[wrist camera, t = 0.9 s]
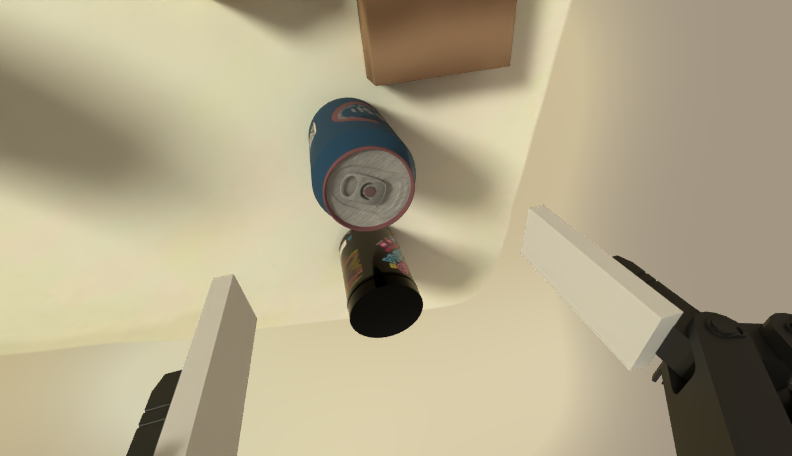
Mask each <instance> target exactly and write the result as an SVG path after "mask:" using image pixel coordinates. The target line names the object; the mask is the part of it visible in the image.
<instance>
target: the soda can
mask: <svg viewBox="0 0 792 456" xmlns="http://www.w3.org/2000/svg"><path fill="white" fill-rule="evenodd" d="M309 150H310V164H311V178H312V188H313V192H314V195H315V197H316V199H317V201H318V203H319V204H320V206H321V207H322V208H323V209H324V211H326V212H327V213H328V214H329V215H330V216H332V217H333V218H334V219H335V220H336V221H337V222H338V223H339V224H341V225H343V226H345V227H347V228H349V229H352V230H356V231H375V230H379V229H382V228H385V227H387V226H389V225H391V224H393V223H394V222H396V221H397V220H398V219H399V218H400V217H402V216H403V214H404V213H405V212H406V211H407V209H408V208H409V206H410V204H411V202H412V199H413V196H414V191H415V179H416V169H415V163H414V160H413V157H412V155H411V153H410V151H409V150H408V148H407V147H406V146H405V144H404V143H403V142H402V141H401V139H400V138H399V137H398V136H397V134H396V133H395V132H394V131H393V130H392V128H391V127H390V126H389V125H388V123H387V122H386V121H385V120H384V118H383V117H382V116H381V115H380V114H379V112H378V111H377V110H376V109H375V108H374V107H373V106H371V105H370V104H368V103H367V102H365V101H362V100H359V99H355V98H340V99H336V100H333V101H331V102H329V103H327V104H326V105H324V106H323V107H322V108H321V109H320V110H319V111H318V112H317V113H316V115H315V116H314V118H313V120H312V122H311V125H310V129H309Z"/></svg>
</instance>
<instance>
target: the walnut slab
mask: <svg viewBox="0 0 792 456" xmlns="http://www.w3.org/2000/svg"><path fill="white" fill-rule="evenodd" d="M516 2H517V0H357V7H358V14H359V22H360V29H361V37H362V45H363V52H364V60H365V67H366V75H367V78H368V79H369V80H370V81H371V82H372V83H373V84H374V85H375V86H379V85H386V84H392V83H399V82H406V81H412V80H419V79H426V78H433V77H439V76H446V75H453V74H459V73H466V72H473V71H480V70H486V69H493V68H500V67H507V66H510V58H511V49H512V39H513V30H514V21H515V11H516Z"/></svg>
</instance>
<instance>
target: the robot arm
mask: <svg viewBox="0 0 792 456" xmlns="http://www.w3.org/2000/svg"><path fill="white" fill-rule="evenodd" d="M521 254H522V255H523V257H524V258H525V259H526V260H527V261H528V262H529V263H530V264H531V265H532V266H533V267H534V268H535V269H536V271H538V273H539V274H540V275H541V276H542V277H543V278H544V279H545V280H546V281H547V282H548V283H549V284H550V285H551V287H552V288H553V289H554V290H555V291H556V292H557V293H558V294H559V295H560V296H561V297H562V298H563V300H564V301H565V302H566V303H567V304H568V305H569V306H570V307H571V308H572V309H573V310H574V311H575V312H576V313H577V314H578V316H579V317H580V318H582V320H583V321H584V322H585V323H586V324H587V325H588V326H589V327H590V329H591V330H592V331H593V332H594V333H595V334H596V335H597V336H598V337H599V338H600V339H601V340H602V341H603V342H604V344H605V345H606V346H607V347H608V348H609V349H610V350H611V351H612V352H613V353H614V354H615V355H616V356H617V358H618V359H619V360H620V361H621V362H622V363H623V364H624V365H625V366H626V367H627V368H628V369H629V370H633V369H636V368H639V367H643V366H646V365H648V364H649V363H650V362H651V360H652V359H653V357H654V355H655V354H656V355H657V356H658V357H660V358H661V359H662V360H663V361H662V363H661V364H660V366H659V367H658V369H657V370H656V371H655V373H654V374H653V377H652V381H654V382H656V381H657V380H658V379H659V377H660V376H661V374H662V379H663V382H662V384H663V385H664V389H665V394H666V400H667V405H668V410H669V416H670V421H671V427H672V431H673V437H674V442H675V448H676V453H677V456H792V314H787V313H775V314H773V315H772V316H770V317H769V318H768V319H767V320H766V322H765V323H764V324H751V323H748V324H747V323H737V322H736V321H734V320H732V319H730V318H728V317H726V316H723V315H720V314H717V313H712V312H699V311H698V310H697V309H695V308H694V307H692V306H691V305H690V304H688V303H687V302H686V301H684V300H683V299H682V298H680V297H679V296H678V295H676V294H675V293H673V292H672V291H671V290H669V289H668V288H667V287H665V286H664V285H663V284H661V283H660V282H659V281H656V280H655V279H654V278H653V277H651V276H650V275H649V274H646V273H645V271H644V270H642V269H641V268H640V267H638V266H637V265H635V264H634V263H633V262H631V261H628V260H626V259H624V258H622V257H620V256H613V257H611V256H610V255H609V254H607V253H606V252H605V251H603V250H602V249H601V248H600V247H598V246H597V245H596V244H594V243H593V242H592V241H590V240H589V239H588V238H587V237H585V236H584V235H583V234H581V233H580V232H579V231H577V230H576V229H575V228H574V227H572V226H571V225H570V224H568V223H567V222H566V221H564V220H563V219H562V218H561V217H559V216H558V215H557V214H555V213H554V212H553V211H552V210H550V209H549V208H547V207H546V206H545V205H540V206H535V207H531V208H529V211H528V217H527V222H526V227H525V233H524V238H523V244H522V249H521ZM256 322H257V318H256V316H255V314H254V312H253V310H252V308H251V306H250V304H249V302H248V300H247V299H246V297H245V295H244V293H243V291H242V289H241V287H240V285H239V283H238V282H237V280H236V278H235V276H234V274H230V275H225V276H221V277H217V278H213V280H212V283H211V286H210V289H209V292H208V295H207V298H206V301H205V304H204V307H203V310H202V313H201V316H200V319H199V322H198V325H197V328H196V331H195V334H194V337H193V340H192V343H191V346H190V349H189V352H188V355H187V357H186V360H185V363H184V366H183V369H182V370H180V371H176V372H172V373H168V374H165V375H164V376H163V378H162V379H161V380H160V382H159V383H158V384H157V386H156V387H155V388H154V390H153V391H152V393H151V395H150V398H149V400H148V403H147V405H146V408H145V413H143V415H142V418H141V420H140V423H139V428H138V429H137V430H136V433H135V435H134V438H133V440H132V443H131V445H130V448H129V450H128V453H127V455H126V456H237V451H238V444H239V437H240V431H241V423H242V417H243V410H244V403H245V397H246V389H247V383H248V376H249V369H250V362H251V355H252V349H253V341H254V335H255V328H256Z"/></svg>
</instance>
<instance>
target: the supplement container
mask: <svg viewBox="0 0 792 456" xmlns="http://www.w3.org/2000/svg"><path fill="white" fill-rule="evenodd" d="M339 254H340V260H341V266H342V272H343V278H344V285H345V291H346V297H347V308H348V312H349V318H350V323H351V325H352V327H353V329H354V330H355V331H357V332H358V333H359V334H361V335H364V336H367V337H373V338H382V337H388V336H392V335H395V334H398V333H400V332H402V331H404V330H406V329H407V328H409V327H410V326H411V325H412V324H413V323H414V322H415V321H416V320H417V319H418V317H419V316H420V314H421V312H422V308H423V301H422V298H421V295H420V293H419V291H418V288H417V285H416V283H415V282H414V280H413V278H412V275H411V273H410V271H409V268H408V266H407V264H406V261H405V259H404V257H403V254H402V252H401V250H400V247H399V245H398V243H397V240H396V238H395V236H394V234H393V233H392V232H391V231H390V230H389V229H388V228H386V227H385V228H382V229H379V230H375V231H356V230H352V229H351V230H350V231H349V232H348V233H347V234H346V235H345V236H344V238H343V239H342V241H341V243H340V247H339Z"/></svg>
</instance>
